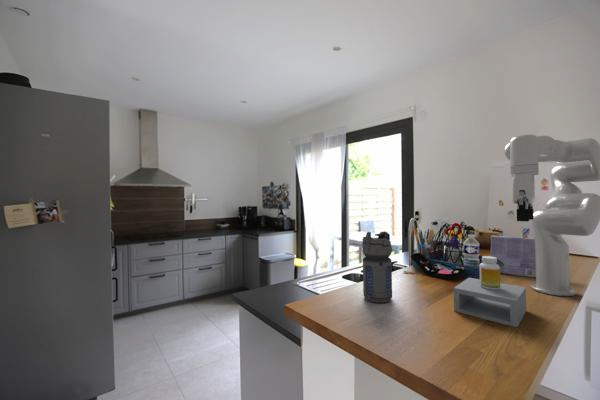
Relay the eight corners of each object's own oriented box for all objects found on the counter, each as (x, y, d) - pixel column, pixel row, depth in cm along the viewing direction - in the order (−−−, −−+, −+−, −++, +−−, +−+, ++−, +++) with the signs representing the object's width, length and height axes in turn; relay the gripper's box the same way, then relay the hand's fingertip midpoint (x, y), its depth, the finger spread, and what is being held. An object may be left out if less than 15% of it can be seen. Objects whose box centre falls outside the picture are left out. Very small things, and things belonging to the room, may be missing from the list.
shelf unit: (469, 298, 97) (468, 277, 97) (526, 310, 85) (525, 287, 85) (454, 310, 86) (453, 287, 86) (517, 327, 74) (516, 300, 75)
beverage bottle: (401, 297, 99) (399, 230, 99) (380, 307, 90) (379, 233, 90) (377, 291, 107) (376, 228, 107) (356, 299, 98) (355, 231, 98)
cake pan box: (542, 276, 121) (541, 237, 122) (543, 279, 118) (542, 239, 118) (491, 270, 134) (490, 235, 134) (490, 272, 130) (489, 236, 130)
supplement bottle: (503, 290, 83) (503, 259, 83) (484, 289, 84) (484, 258, 84) (494, 285, 88) (494, 255, 88) (476, 284, 89) (476, 255, 89)
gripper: (515, 173, 102) (516, 218, 102) (505, 170, 90) (506, 221, 90) (541, 171, 96) (542, 219, 96) (535, 168, 84) (536, 222, 84)
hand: (525, 220), depth 93 cm, fingers open, 9 cm apart
